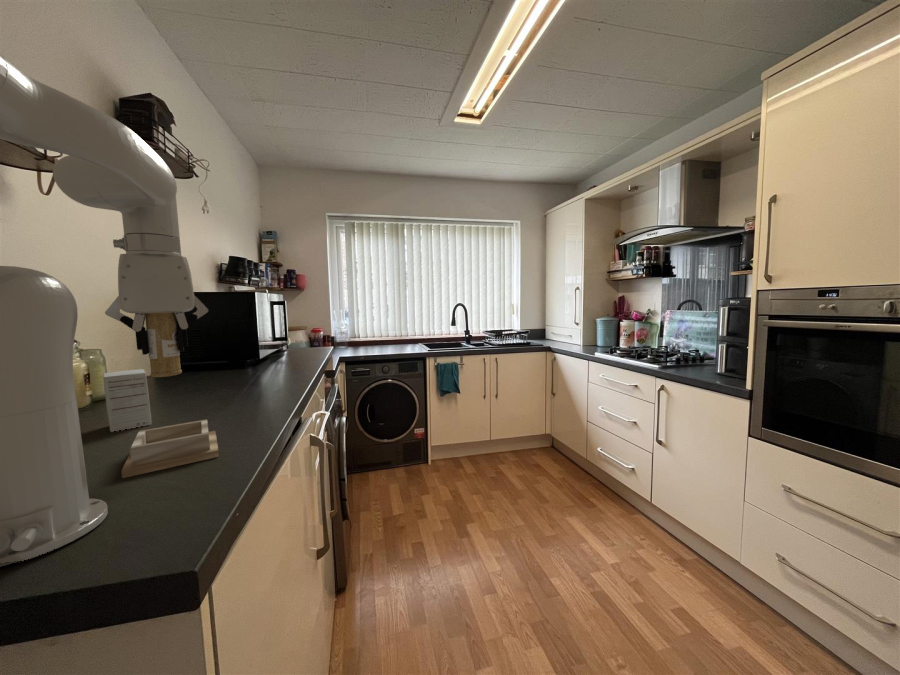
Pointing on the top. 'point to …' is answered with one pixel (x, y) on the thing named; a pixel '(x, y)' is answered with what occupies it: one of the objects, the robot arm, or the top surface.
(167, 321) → the sprinkles bottle
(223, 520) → the top surface
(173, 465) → the socket board
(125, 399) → the supplement box
